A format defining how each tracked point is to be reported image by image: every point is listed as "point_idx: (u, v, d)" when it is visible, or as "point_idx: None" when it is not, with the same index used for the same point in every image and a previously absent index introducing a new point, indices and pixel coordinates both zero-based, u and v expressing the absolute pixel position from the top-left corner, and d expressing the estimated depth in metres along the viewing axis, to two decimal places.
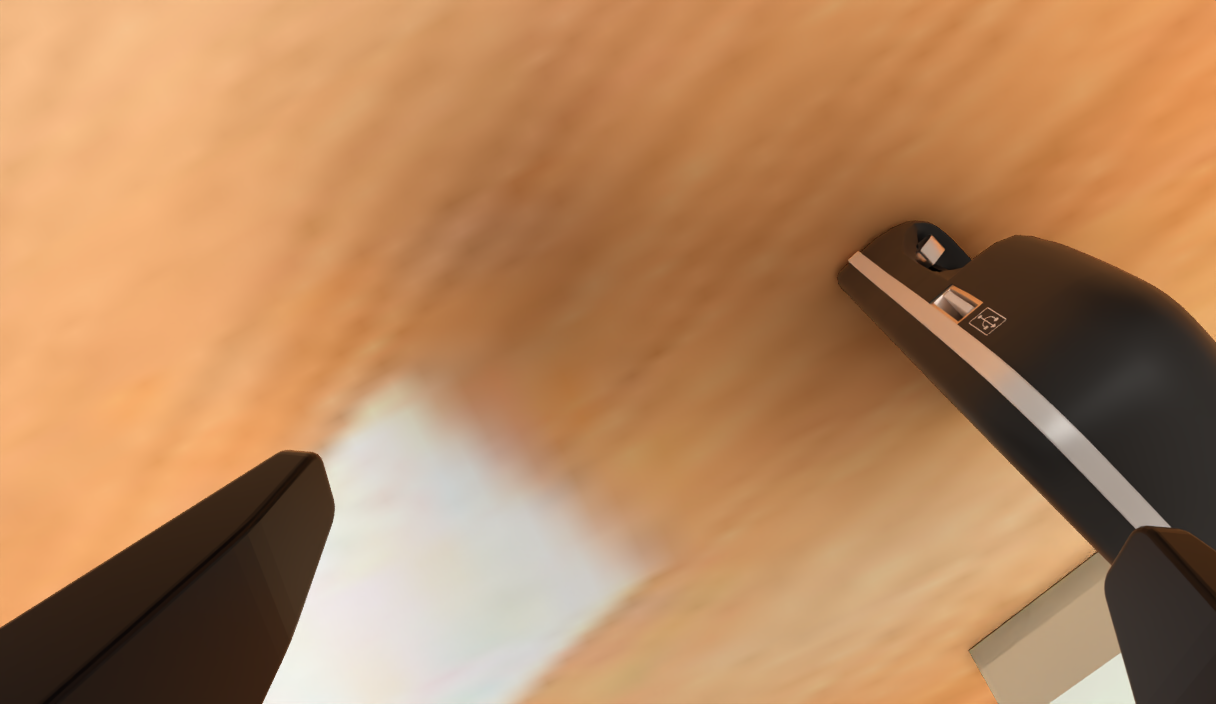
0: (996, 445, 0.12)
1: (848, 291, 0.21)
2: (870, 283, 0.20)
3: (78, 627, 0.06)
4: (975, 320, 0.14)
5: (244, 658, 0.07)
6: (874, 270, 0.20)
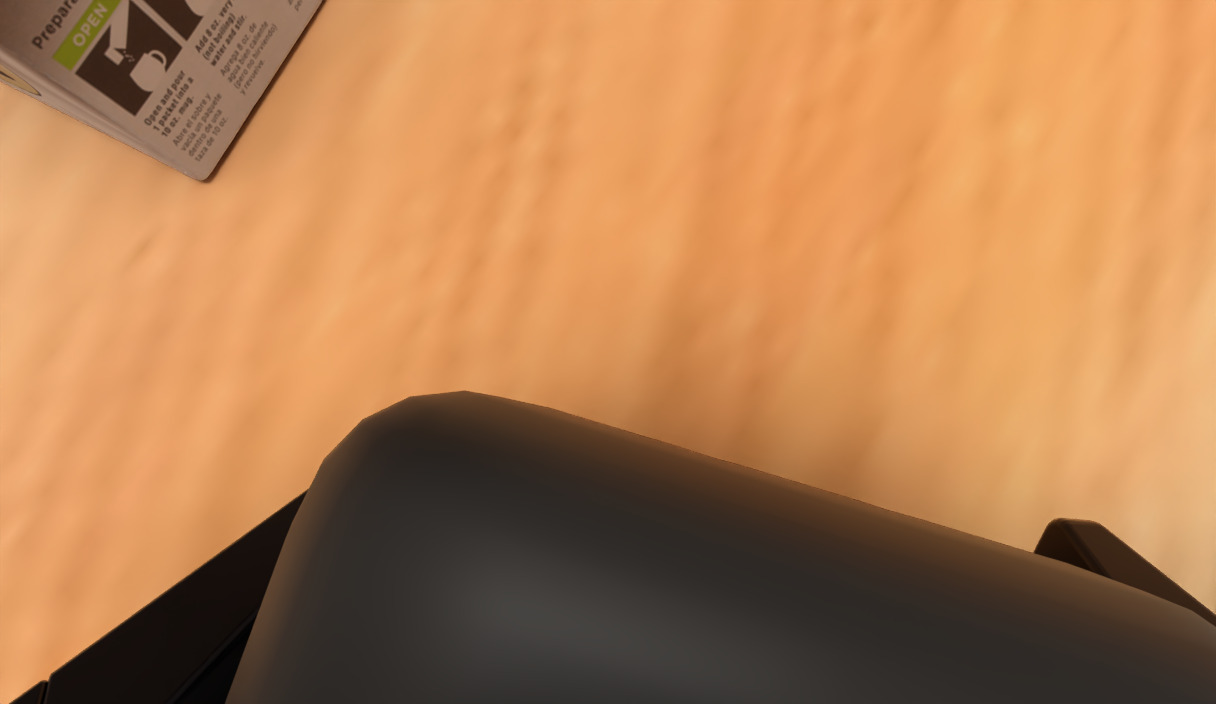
0: None
1: None
2: None
3: (178, 638, 0.06)
4: None
5: None
6: None
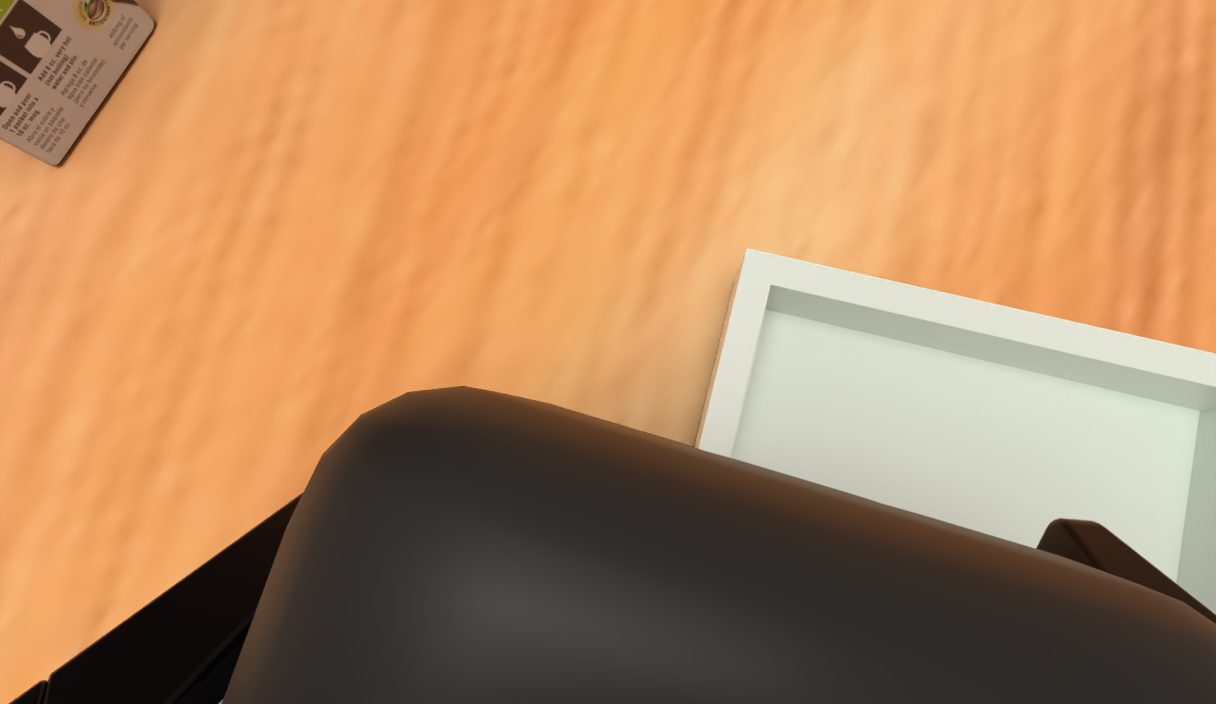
0: None
1: None
2: None
3: (178, 638, 0.06)
4: None
5: None
6: None
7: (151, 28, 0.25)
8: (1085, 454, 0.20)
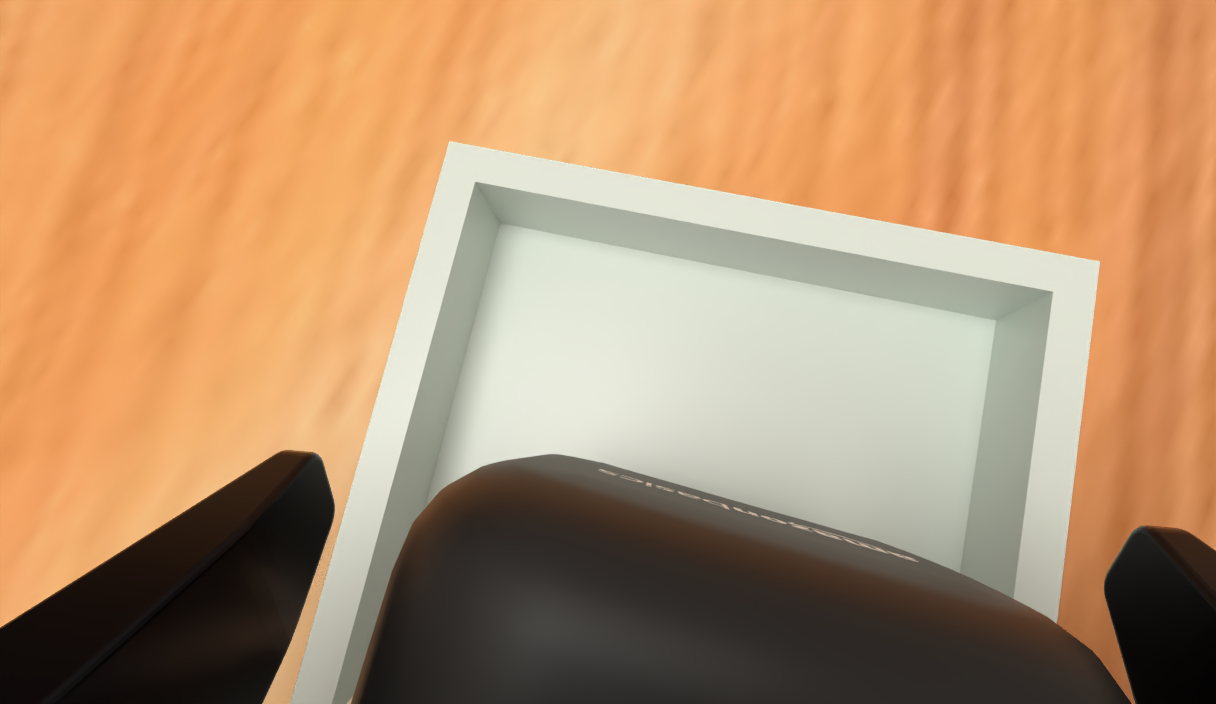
0: None
1: None
2: None
3: (78, 627, 0.06)
4: None
5: (244, 658, 0.07)
6: None
7: None
8: (865, 375, 0.17)
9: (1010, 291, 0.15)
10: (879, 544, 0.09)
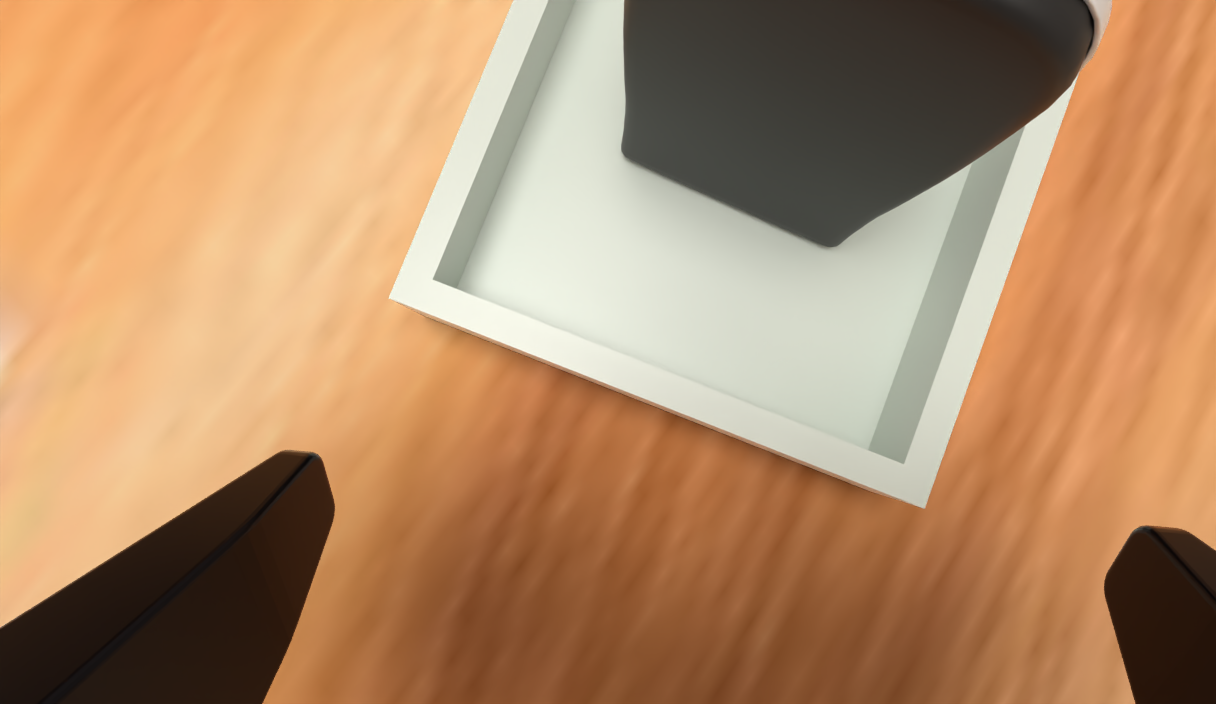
0: None
1: (625, 136, 0.18)
2: None
3: (78, 627, 0.06)
4: None
5: (244, 658, 0.07)
6: None
7: None
8: None
9: None
10: None
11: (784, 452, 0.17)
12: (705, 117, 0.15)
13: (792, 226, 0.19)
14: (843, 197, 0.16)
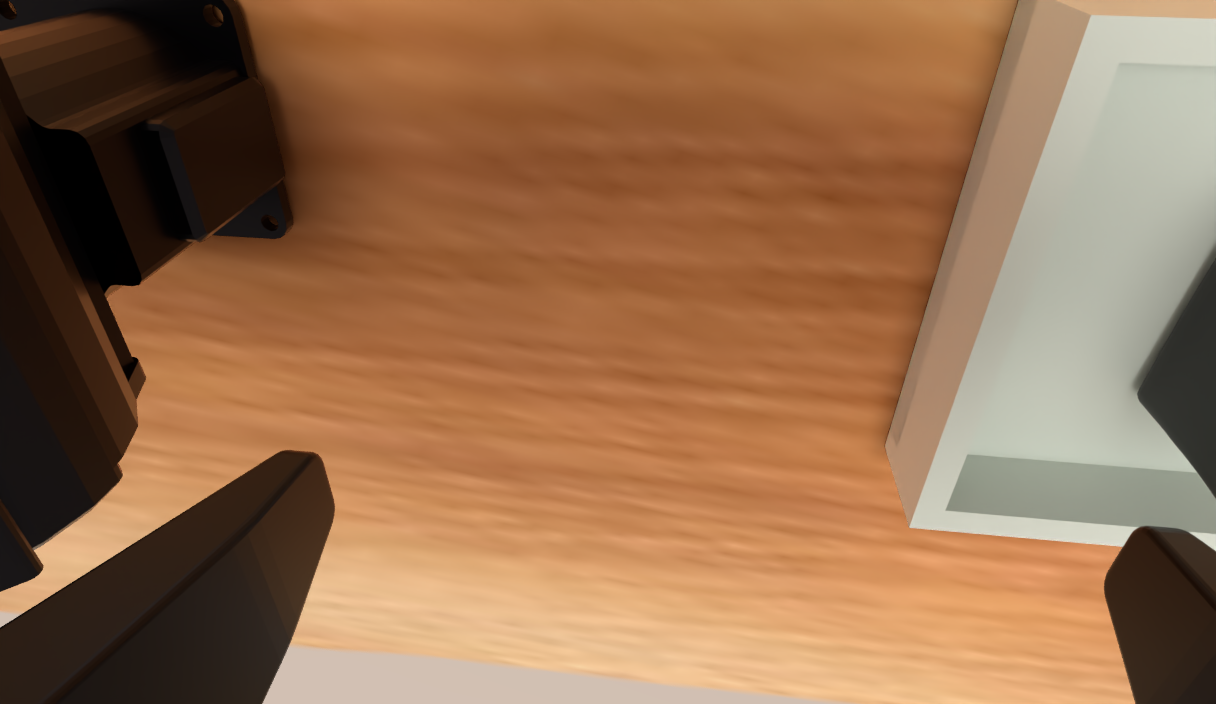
0: None
1: None
2: None
3: (78, 628, 0.06)
4: None
5: (244, 658, 0.07)
6: None
7: None
8: None
9: None
10: None
11: (942, 433, 0.19)
12: None
13: (1166, 369, 0.19)
14: None
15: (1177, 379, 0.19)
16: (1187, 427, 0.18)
